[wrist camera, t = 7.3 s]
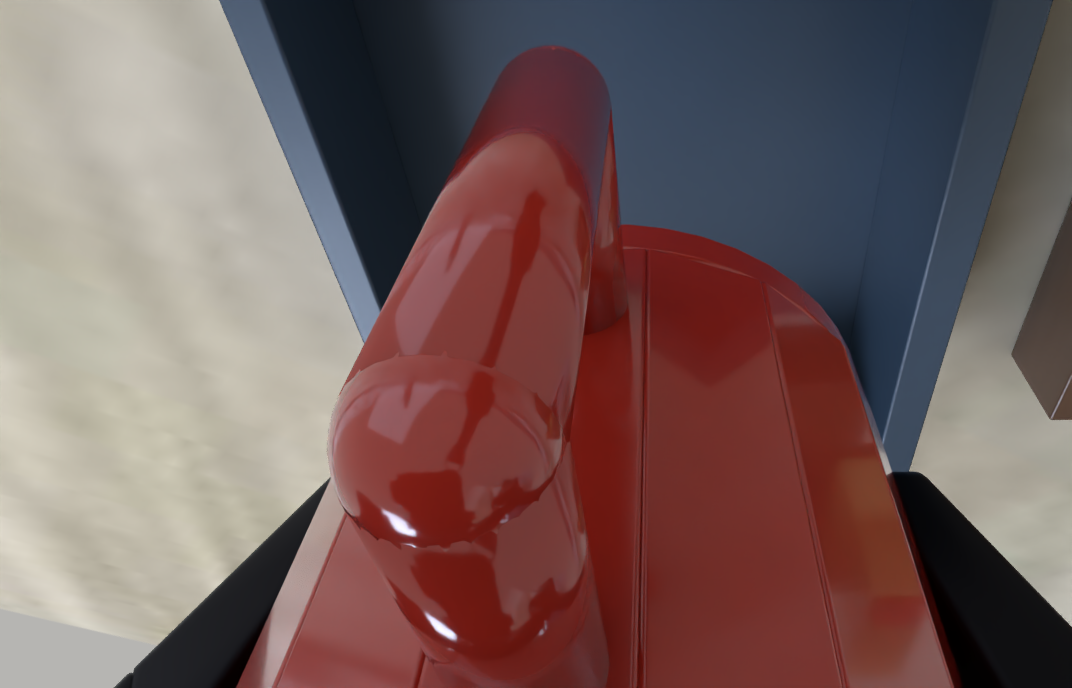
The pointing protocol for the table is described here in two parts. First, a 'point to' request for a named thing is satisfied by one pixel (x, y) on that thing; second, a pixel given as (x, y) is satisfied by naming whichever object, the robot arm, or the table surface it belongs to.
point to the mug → (597, 453)
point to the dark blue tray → (685, 140)
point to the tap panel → (1051, 331)
